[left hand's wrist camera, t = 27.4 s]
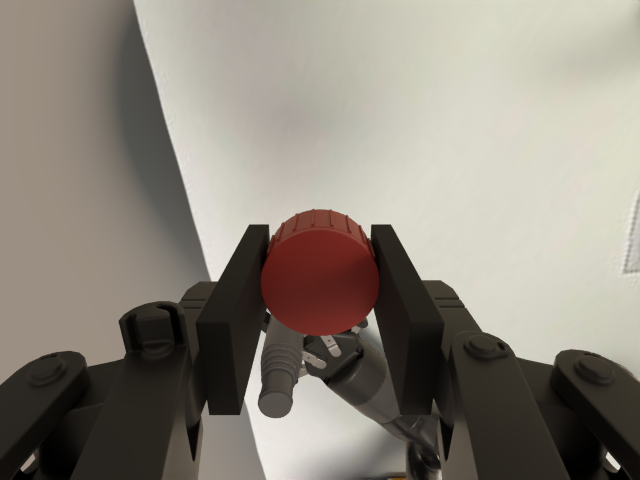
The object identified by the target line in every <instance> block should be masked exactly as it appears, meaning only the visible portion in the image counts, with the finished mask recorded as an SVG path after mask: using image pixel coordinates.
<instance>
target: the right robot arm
mask: <svg viewBox="0 0 640 480" xmlns="http://www.w3.org/2000/svg"><path fill="white" fill-rule="evenodd" d="M269 320H270V314H269V313H268V312H267V311H266V313H265V317H264V321H263V325H262V329H261V330H262V331H263V332H265V333H267V329H268V324H269ZM367 326H368V321H367V317H365V318H364V319H363V320H362V321H361V322H360V323H359V324H357V325H356V326H354V327H352V328H351V329H349V330H346V331H344V332H341V333H338V334H334V335H327V336H313V335H305V334H304V338H303V353H302V360H304V362H305V364H301V368H300V371H299V375H298V377H297V380H296V384H297V383H298V378H300V377H302V376H304V375H307V374H310V375H311V376H315V377H318V378H320V379H321V380H322V381H323V382H324V383H325V384H326V386H327V387H328V388H330V389H331V390H332V391H334V392H335V393H336V394H337V395H339V396H340V397H341V398H343V399H344V400H345V401H346V402H348V403H349V404H350V405H352V406H353V407H354V408H355V409H357V410H358V411H359V412H361V413H362V414H363V415H365V416H367V417H369V418H370V419H372V420H374V421H375V422H377V423H378V424H379V425H381V426H382V427H383V428H385V429H386V430H387V431H388V432H390V433H391V434H392V435H394V436H395V437H397V438H399V439H401V440H404V441H406V480H438V473H439V470H441V463H440V454H439V450H438V454H437V453H433V450H434V443H435V437H436V431H437V425H438V418H439V411H438V408H437V406H436V403H435V400H434V399H433V404H432V410H431V415H400V411H399V407H398V403H397V399H396V396H395V392H394V388H393V384H392V380H391V376H390V372H389V368H388V364H387V360H386V358H384V357H383V356H382V355H381V354H380V353H379V352H377V351H376V350H375V349H374V348H373V347H372V346H370V345H369V344H368V343H367V342H366V341H365V340H363V339H362V338H360V337H359V334H358V332H359V331H360V329H361V328H366V327H367ZM617 365H619V364H617ZM619 366H620V367H621V368H623V369H624V370H626V371H627V372H628V373H629V374H630V375H631V376H633V377H634V375H633V374H632V373H631V372H630V371H628V370H627V369H626V368H625V367H623V366H621V365H619ZM634 378H635V377H634ZM635 379H636V378H635ZM636 380H637V381H638V382H640V381H639V380H638V379H636Z"/></svg>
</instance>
